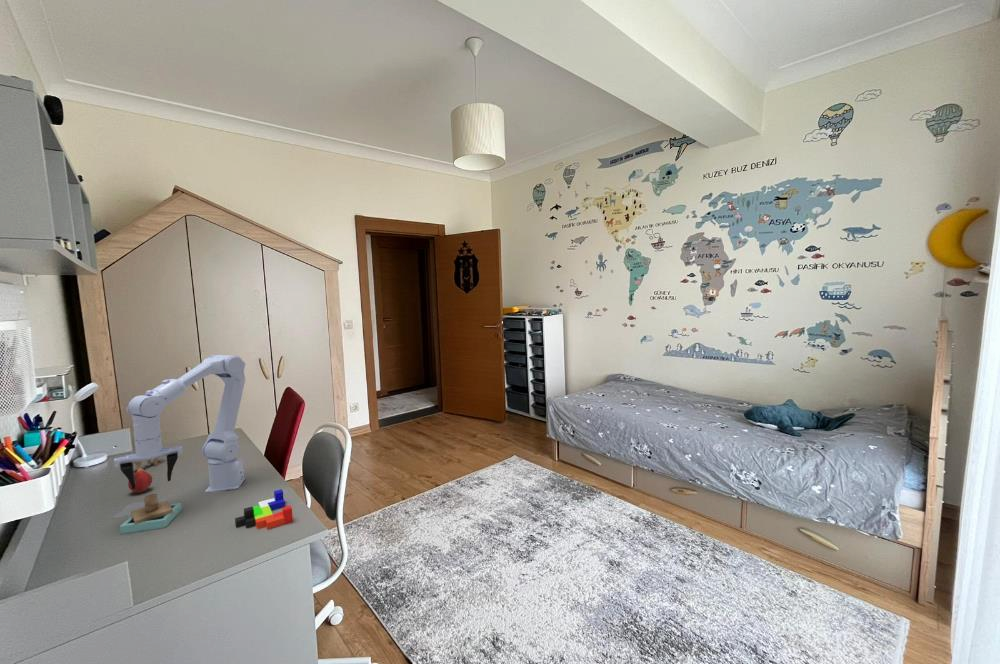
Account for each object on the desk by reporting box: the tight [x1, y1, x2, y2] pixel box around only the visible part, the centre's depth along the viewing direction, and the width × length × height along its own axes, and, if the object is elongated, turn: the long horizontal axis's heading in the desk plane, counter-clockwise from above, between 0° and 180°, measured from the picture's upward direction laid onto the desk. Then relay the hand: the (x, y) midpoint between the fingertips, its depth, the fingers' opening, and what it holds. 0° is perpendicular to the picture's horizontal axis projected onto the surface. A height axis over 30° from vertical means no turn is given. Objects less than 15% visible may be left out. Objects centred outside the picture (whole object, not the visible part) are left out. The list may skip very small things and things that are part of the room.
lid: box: [131, 493, 173, 524], centre depth 114 cm, size 8×8×5 cm
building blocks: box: [234, 488, 293, 530], centre depth 116 cm, size 15×13×4 cm
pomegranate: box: [127, 468, 153, 494], centre depth 132 cm, size 6×6×8 cm
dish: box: [119, 502, 183, 535], centre depth 114 cm, size 10×10×2 cm
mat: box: [112, 498, 169, 519], centre depth 122 cm, size 10×9×1 cm
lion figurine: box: [133, 458, 160, 472], centre depth 152 cm, size 15×5×9 cm, turn 2°
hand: (151, 483), depth 117 cm, fingers open, 7 cm apart
